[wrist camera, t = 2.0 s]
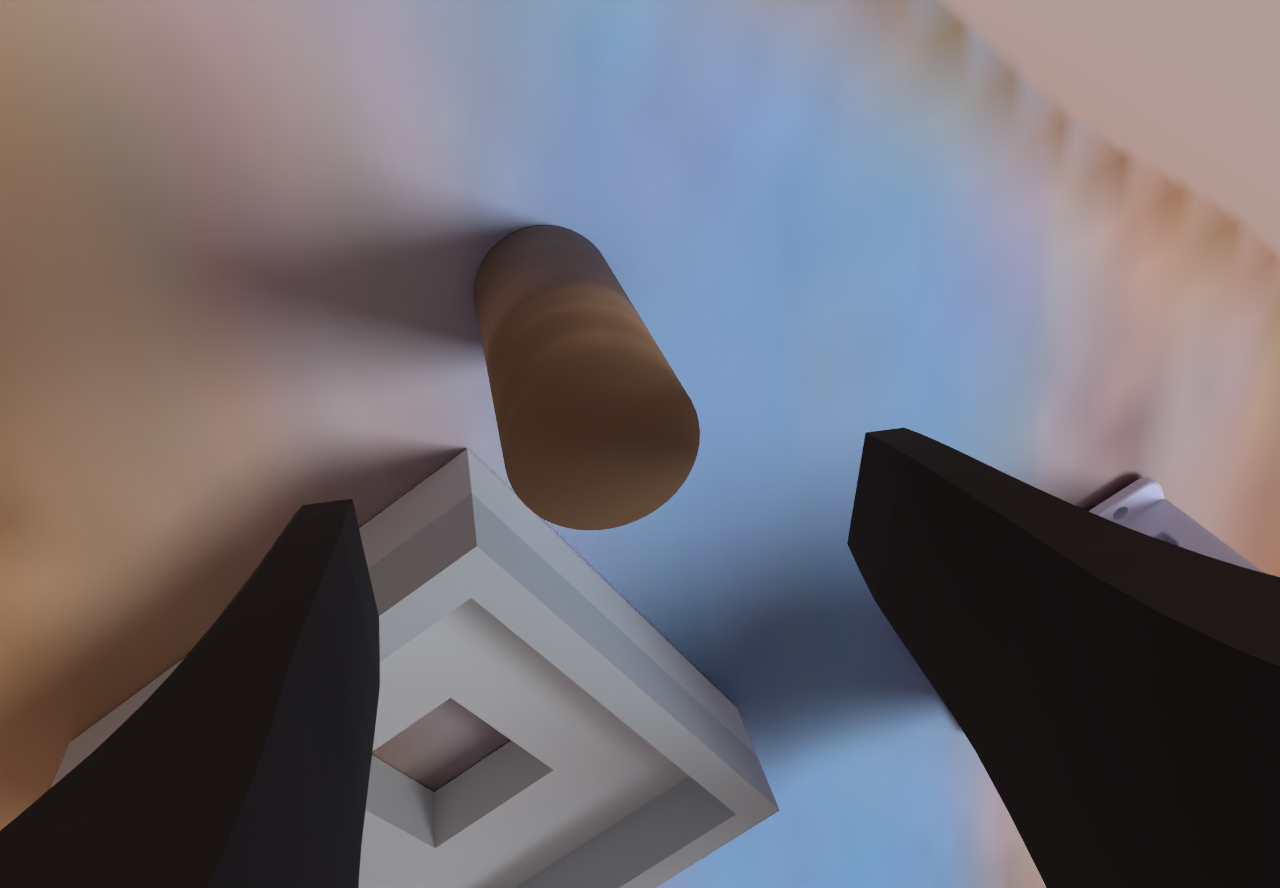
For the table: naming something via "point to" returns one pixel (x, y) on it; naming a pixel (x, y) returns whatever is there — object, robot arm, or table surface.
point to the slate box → (529, 709)
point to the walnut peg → (579, 384)
